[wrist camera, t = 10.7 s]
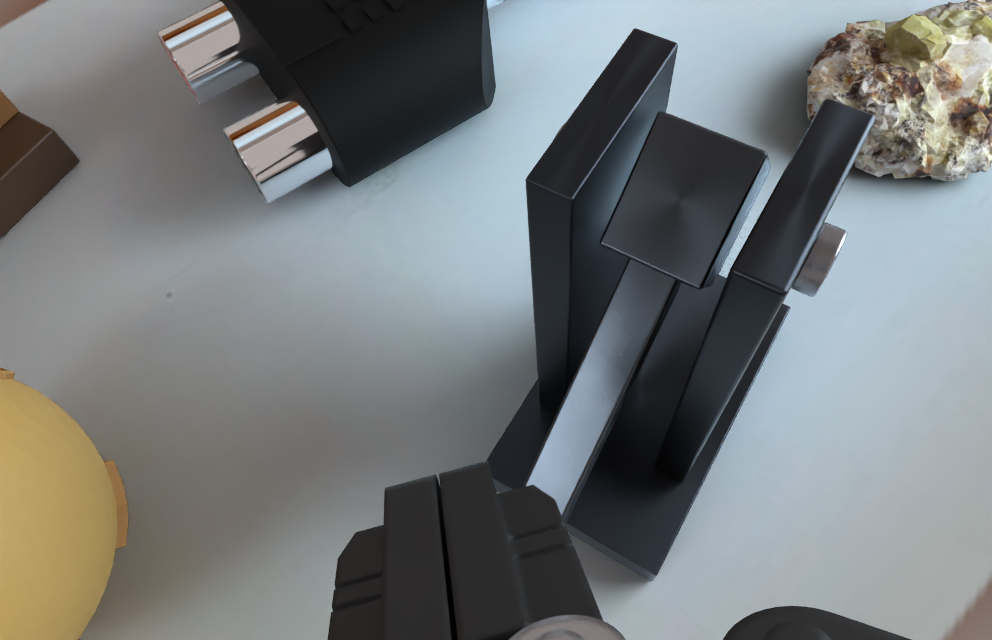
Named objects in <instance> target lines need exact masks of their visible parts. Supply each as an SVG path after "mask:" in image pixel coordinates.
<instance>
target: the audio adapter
mask: <svg viewBox="0 0 992 640" xmlns="http://www.w3.org/2000/svg"><path fill="white" fill-rule="evenodd" d="M504 1H506V0H218V1H217V2H215V3H213V4H211V5H209V6H207V7H205V8H203V9H201V10H199V11H197V12H195V13H193V14H191V15H189V16H187V17H185V18H183V19H181V20H179V21H177V22H175V23H173V24H171V25H169V26H167V27H164V28H162V29H160V30H158V31H157V32H156V33H157V36H158V37H159V39H160V41H161V43H162V44H163V46H164V48H165V50H166V51H167V53H168V55H169V56H170V58H171V59H172V61H173V63H174V64H175V66H176V68H177V69H178V71H179V72H180V74H181V76H182V77H183V79H184V80H185V82H186V83H187V85H188V86H189V88H190V90H191V91H192V93H193V95H194V96H195V98H196V99H197V101H198V102H199V103H200V104H201V103H204V102H205V101H207V100H209V99H211V98H213V97H215V96H217V95H219V94H221V93H223V92H225V91H227V90H228V89H230V88H232V87H234V86H236V85H238V84H240V83H242V82H244V81H246V80H248V79H250V78H251V77H253V76H255V75H257V74H260V75H261V77H262V78H263V80H264V81H265V83H266V84H267V85H268V87H269V88H270V89H271V91H272V92H273V93H274V95H275V96H276V97H277V99H278V100H276V101H274V102H272V103H270V104H268V105H267V106H265V107H263V108H261V109H259V110H257V111H255V112H253V113H252V114H250V115H248V116H246V117H244V118H242V119H240V120H238V121H237V122H235V123H233V124H231V125H229V126H227V127H225V128H223V133H224V135H225V137H226V139H227V140H228V142H229V144H230V146H231V147H232V149H233V151H234V152H235V154H236V156H237V157H238V159H239V161H240V162H241V164H242V165H243V167H244V169H245V170H246V172H247V173H248V175H249V176H250V178H251V180H252V181H253V183H254V184H255V186H256V187H257V189H258V191H259V193H260V194H261V195H262V197H263V198H264V200H265V201H266V202H267V203H271V202H273V201H275V200H276V199H278V198H280V197H282V196H284V195H285V194H287V193H289V192H291V191H292V190H294V189H296V188H298V187H300V186H301V185H303V184H305V183H307V182H308V181H310V180H312V179H314V178H316V177H317V176H319V175H321V174H323V173H324V172H326V171H328V170H330V169H331V170H332V172H333V173H334V174H335V176H336V177H337V178H338V179H339V180H340V181H341V182H342V183H343V184H344V185H346V186H348V187H351V186H352V185H354V184H356V183H357V182H359V181H361V180H363V179H364V178H366V177H368V176H370V175H371V174H373V173H375V172H377V171H378V170H380V169H382V168H384V167H385V166H387V165H389V164H391V163H392V162H394V161H396V160H398V159H399V158H401V157H403V156H405V155H406V154H408V153H410V152H412V151H413V150H415V149H417V148H419V147H420V146H422V145H424V144H426V143H427V142H429V141H431V140H433V139H434V138H436V137H438V136H440V135H441V134H443V133H445V132H447V131H448V130H450V129H452V128H453V127H455V126H457V125H459V124H460V123H462V122H464V121H466V120H467V119H469V118H471V117H473V116H474V115H476V114H478V113H480V112H481V111H483V110H485V109H487V108H489V107H490V105H491V103H492V101H493V97H494V93H495V88H496V85H495V76H494V66H493V57H492V47H491V38H490V29H489V19H488V10H489V9H491V8H493V7H494V6H496V5H498V4H500V3H502V2H504Z"/></svg>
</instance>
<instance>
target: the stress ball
mask: <svg viewBox="0 0 992 640" xmlns="http://www.w3.org/2000/svg"><path fill="white" fill-rule="evenodd" d="M14 375H15V373H14V372H11V371H9V370H6V369H3V368H0V640H78V639H79V638H80V637H81V635H82V633H83V632H84V630H85V628H86V627H87V625H88V623H89V622H90V620H91V618H92V617H93V615H94V613H95V612H96V610H97V607H98V605H99V603H100V600H101V598H102V596H103V594H104V591H105V589H106V586H107V583H108V580H109V577H110V573H111V570H112V566H113V561H114V556H115V551H116V549H119V548H122V547H124V546H126V541H127V532H128V524H129V522H128V503H127V499H126V494H125V490H124V485H123V481H122V478H121V476H120V474H119V472H118V469H117V467H116V465H115V463H114V460H110V461H104V462H103V460H102V458H101V456H100V454H99V453H98V451H97V449H96V447H95V446H94V444H93V442H92V441H91V439H90V438H89V437H88V436H87V434H86V433H85V432H84V431H83V429H82V428H81V427H80V426H79V424H78V423H77V422H76V421H75V420H74V419H73V418H72V417H71V416H70V415H69V414H67V413H66V412H65V411H64V410H63V409H62V408H61V407H60V406H58V405H57V404H56V403H54V402H53V401H51V400H50V399H49V398H47V397H46V396H44V395H43V394H42V393H40V392H39V391H37V390H35V389H33V388H31V387H29V386H27V385H25V384H23V383H21V382H19V381H17V380H15V379H13V378H14Z"/></svg>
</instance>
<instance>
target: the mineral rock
mask: <svg viewBox="0 0 992 640" xmlns="http://www.w3.org/2000/svg"><path fill="white" fill-rule="evenodd" d="M845 31H846V33H840V34H838V35H837V36H835V37H834V38H831V39H829V40H828V41H827V42H826V43H825V45H824V46H823V47H822V49H821V50H820V52H819V53H818V55H817V57H816V58H815V60H814V61H813V63H812V64H811V66H810V67H809V68H808V70H807V73H809V74H810V76H809V77H808V79H807V84H808V92H807V95H808V97H807V109H806V111H807V113H808V120H809V121H811V122H812V120H813V118H814V116H815V114H816V113H817V111H818V109H819V107H820V105H821V103H822V102H823V101H824V100H826V99H832V100H834V101H837V102H840V103H843V104H846V105H848V106H851V107H854V108H857V109H860V110H862V111H865V112H868V113H871V114H873V115H874V116H875V122H874V124H873V126H872V128H871V130H870V132H869V134H868V136H867V138H866V140H865V142H864V144H863V146H862V148H861V150H860V152H859V154H858V156H857V158H856V160H855V162H854V165H855V167H856V168H858V169H861V170H863V171H864V172H867V173H870V174H873V175H875V176H877V177H880V176H882V175H885V174H890V173H892V174H893V176H894V178H907V177H922V178H923V177H925V176H931V177H932V179H940V180H944V181H955V180H957V179H968V175H969V174H970V173H975V172H979V171H983V172H986V171H987V170H988V169H990V167H991V162H992V0H968V1H967V2H961V3H950V2H949V3H948V5H947V4H944V5H940V6H936V7H933V8H930V9H928V10H926V11H924V12H920V13H916V14H915V15H911V16H909V17H907V18H905V19H903V20H901V21H896V22H891V23H885V22H882V21H879V20H873V21H863V22H857V23H856V24H849V23H847V27H846V30H845Z"/></svg>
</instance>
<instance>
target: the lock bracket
mask: <svg viewBox="0 0 992 640" xmlns="http://www.w3.org/2000/svg"><path fill="white" fill-rule="evenodd" d="M677 48H678V44H677V43H675V42H672V41H670V40H667V39H664V38H661V37H658V36H656V35H653V34H650V33H647V32H644V31H642V30H639V29H633V31H632V32H631V33H630V35H629V36H628V38H627V39H626V40H625V42H624V43H623V45H622V46H621V47H620V49H619V50H618V52H617V53H616V54H615V56H614V57H613V58H612V60H611V61H610V63H609V64H608V65H607V67H606V68H605V70H604V71H603V72H602V74H601V75H600V77H599V78H598V79H597V81H596V82H595V83H594V85H593V86H592V88H591V89H590V90H589V92H588V93H587V95H586V96H585V97H584V99H583V100H582V102H581V103H580V104H579V106H578V107H577V108H576V110H575V111H574V113H573V114H572V115H571V117H570V118H569V120H568V121H567V122H566V123H565V124H564V125H563V126H562V127H561V129H560V130H559V132H558V133H557V135H556V136H555V138H554V140H553V142H552V143H551V145H550V146H549V147H548V149H547V150H546V152H545V153H544V154H543V156H542V157H541V159H540V160H539V161H538V163H537V164H536V165H535V167H534V168H533V170H532V171H531V172H530V174H529V175H528V177H527V178H526V193H527V209H528V226H529V242H530V258H531V274H532V290H533V307H534V323H535V339H536V355H537V371H538V379H537V381H536V383H535V384H534V386H533V387H532V389H531V390H530V392H529V394H528V395H527V397H526V398H525V400H524V402H523V403H522V405H521V406H520V408H519V410H518V411H517V413H516V414H515V416H514V418H513V419H512V421H511V422H510V424H509V426H508V427H507V429H506V430H505V432H504V434H503V435H502V437H501V438H500V440H499V441H498V443H497V445H496V446H495V448H494V449H493V451H492V453H491V454H490V456H489V457H488V459H487V461H488V462H489V466H490V470H491V473H492V477H493V481H494V485H495V489H496V490H498V491H500V492H501V493H503V492H507V491H511V490H515V489H518V488H522V487H523V486H524V484H525V482H526V480H527V478H528V476H529V473H530V471H531V469H532V467H533V465H534V463H535V460H536V458H537V456H538V454H539V452H540V450H541V447H542V445H543V443H544V441H545V439H546V437H547V434H548V432H549V430H550V428H551V426H552V424H553V421H554V419H555V417H556V415H557V413H558V411H559V408H560V406H561V404H562V402H563V400H564V398H565V395H566V393H567V391H568V389H569V387H570V385H571V382H572V380H573V378H574V376H575V374H576V372H577V370H578V367H579V365H580V363H581V361H582V359H583V357H584V354H585V352H586V350H587V348H588V346H589V344H590V341H591V339H592V337H593V335H594V333H595V331H596V328H597V326H598V324H599V322H600V320H601V318H602V315H603V313H604V311H605V309H606V307H607V305H608V302H609V300H610V298H611V296H612V294H613V292H614V289H615V287H616V285H617V283H618V281H619V279H620V276H621V274H622V272H623V270H624V268H625V266H626V263H627V261H628V259H629V258H627V257H625V256H623V255H621V254H618V253H616V252H614V251H612V250H610V249H608V248H605V247H603V246H601V245H600V240H601V237H602V235H603V233H604V231H605V228H606V226H607V224H608V222H609V220H610V217H611V215H612V213H613V211H614V208H615V206H616V204H617V202H618V200H619V197H620V195H621V193H622V191H623V188H624V186H625V184H626V182H627V180H628V177H629V175H630V173H631V171H632V168H633V166H634V164H635V162H636V160H637V157H638V155H639V153H640V151H641V148H642V146H643V144H644V142H645V140H646V137H647V135H648V133H649V131H650V128H651V126H652V124H653V122H654V120H655V117H656V115H657V113H658V112H659V111H663V112H665V113H666V109H667V103H668V98H669V92H670V86H671V81H672V75H673V70H674V64H675V59H676V53H677ZM874 122H875V116H874V115H873V114H871V113H868V112H865V111H862V110H860V109H857V108H854V107H851V106H848V105H846V104H843V103H840V102H837V101H834V100H832V99H826V100H824V101H823V102H822V103H821V105H820V107H819V109H818V111H817V113H816V114H815V116H814V118H813V120H812V122H811V123H810V125H809V127H808V129H807V131H806V133H805V134H804V136H803V138H802V140H801V142H800V144H799V145H798V147H797V149H796V151H795V153H794V154H793V156H792V158H791V160H790V162H789V164H788V165H787V167H786V169H785V171H784V173H783V174H782V176H781V178H780V180H779V182H778V184H777V185H776V187H775V189H774V191H773V193H772V194H771V196H770V198H769V200H768V202H767V204H766V205H765V207H764V209H763V211H762V213H761V214H760V216H759V218H758V220H757V222H756V224H755V225H754V227H753V229H752V231H751V233H750V234H749V236H748V238H747V240H746V242H745V244H744V245H743V247H742V249H741V251H740V253H739V255H738V256H737V258H736V260H735V262H734V264H733V265H732V267H731V269H730V272H729V274H728V277H727V278H725V277H722V276H720V275H718V276H717V278H716V280H715V282H714V284H713V285H712V286H709V287H707V288H704V289H701V290H697V289H695V288H693V287H690V286H688V285H686V284H684V283H682V284H681V286H680V288H679V290H678V292H677V294H676V297H675V299H674V301H673V303H672V305H671V307H670V309H669V311H668V313H667V315H666V317H665V319H664V321H663V323H662V326H661V328H660V330H659V332H658V334H657V336H656V338H655V340H654V342H653V344H652V346H651V348H650V350H649V352H648V354H647V357H646V359H645V361H644V363H643V365H642V367H641V369H640V371H639V373H638V375H637V377H636V379H635V381H634V383H633V386H632V388H631V390H630V392H629V394H628V396H627V398H626V400H625V402H624V404H623V406H622V408H621V410H620V412H619V414H618V417H617V419H616V421H615V423H614V425H613V427H612V429H611V431H610V433H609V435H608V437H607V439H606V441H605V443H604V446H603V448H602V450H601V452H600V454H599V456H598V458H597V460H596V462H595V464H594V466H593V468H592V470H591V472H590V475H589V477H588V479H587V481H586V483H585V485H584V487H583V489H582V491H581V493H580V495H579V497H578V499H577V501H576V503H575V506H574V508H573V510H572V512H571V514H570V516H569V518H568V520H567V522H566V524H565V526H566V528H567V531H568V532H569V533H570V534H572V535H574V536H575V537H577V538H579V539H580V540H582V541H584V542H586V543H587V544H589V545H591V546H592V547H594V548H596V549H597V550H599V551H601V552H602V553H604V554H606V555H607V556H609V557H611V558H613V559H614V560H616V561H618V562H619V563H621V564H623V565H624V566H626V567H628V568H629V569H631V570H633V571H634V572H636V573H638V574H639V575H641V576H643V577H645V578H646V579H648V580H650V581H653V580H654V578H655V577H656V576H657V574H658V572H659V570H660V568H661V566H662V564H663V562H664V560H665V558H666V556H667V554H668V552H669V550H670V548H671V546H672V544H673V542H674V540H675V538H676V536H677V534H678V532H679V530H680V528H681V526H682V524H683V522H684V520H685V518H686V516H687V514H688V512H689V510H690V508H691V506H692V504H693V502H694V500H695V498H696V496H697V494H698V492H699V490H700V488H701V486H702V484H703V482H704V480H705V478H706V476H707V474H708V472H709V470H710V468H711V466H712V464H713V462H714V460H715V458H716V456H717V454H718V452H719V450H720V448H721V446H722V444H723V442H724V440H725V438H726V436H727V434H728V432H729V430H730V428H731V426H732V424H733V422H734V420H735V418H736V416H737V414H738V412H739V410H740V408H741V406H742V404H743V402H744V400H745V398H746V396H747V394H748V392H749V390H750V388H751V386H752V384H753V382H754V380H755V378H756V376H757V374H758V372H759V370H760V368H761V366H762V364H763V362H764V360H765V358H766V356H767V354H768V352H769V350H770V348H771V346H772V344H773V342H774V340H775V338H776V336H777V334H778V332H779V330H780V328H781V326H782V324H783V322H784V320H785V318H786V316H787V314H788V312H789V310H790V307H789V306H787V305H785V304H783V301H784V300H785V298H786V296H787V294H788V292H789V290H790V288H793V289H795V290H797V291H799V292H802V293H804V294H806V295H808V296H814V295H815V294H816V293H817V292H818V290H819V288H820V287H821V285H822V283H823V282H824V280H825V278H826V276H827V274H828V273H829V271H830V269H831V267H832V265H833V263H834V261H835V259H836V257H837V256H838V254H839V252H840V250H841V248H842V245H843V243H844V241H845V239H846V236H847V232H846V231H845V230H843V229H841V228H838V227H836V226H833V225H831V224H828V223H824V221H825V219H826V217H827V215H828V213H829V211H830V209H831V207H832V205H833V203H834V201H835V199H836V197H837V195H838V193H839V191H840V189H841V187H842V185H843V183H844V181H845V179H846V177H847V175H848V173H849V171H850V169H851V168H852V166H853V164H854V162H855V160H856V158H857V156H858V154H859V152H860V150H861V148H862V146H863V144H864V142H865V140H866V138H867V136H868V134H869V132H870V130H871V128H872V126H873V124H874Z"/></svg>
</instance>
